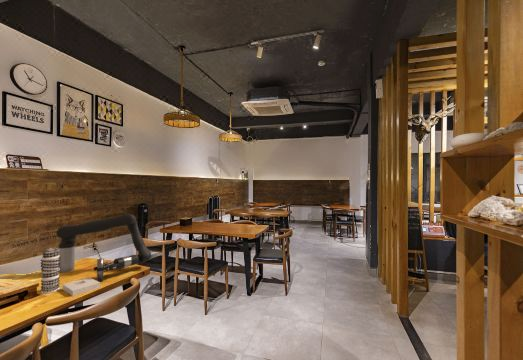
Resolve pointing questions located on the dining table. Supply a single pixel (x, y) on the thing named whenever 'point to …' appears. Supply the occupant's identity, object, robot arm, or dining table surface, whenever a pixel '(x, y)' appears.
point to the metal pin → (100, 274)
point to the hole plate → (80, 286)
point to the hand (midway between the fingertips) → (95, 269)
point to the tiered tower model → (50, 270)
